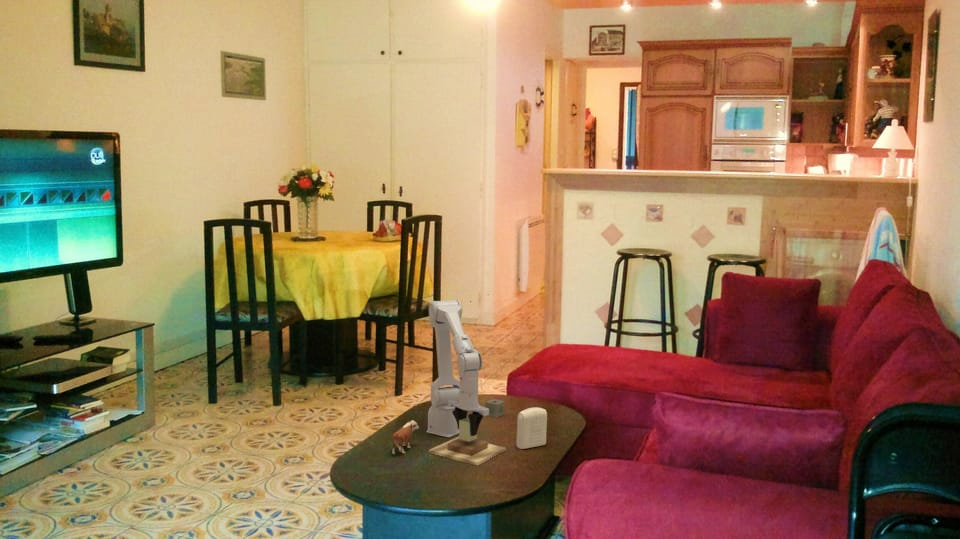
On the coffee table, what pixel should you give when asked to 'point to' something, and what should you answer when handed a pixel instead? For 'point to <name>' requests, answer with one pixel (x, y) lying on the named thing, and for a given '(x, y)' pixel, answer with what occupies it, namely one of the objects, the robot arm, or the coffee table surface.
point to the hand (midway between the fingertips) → (467, 433)
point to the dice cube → (495, 407)
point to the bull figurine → (404, 436)
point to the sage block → (465, 430)
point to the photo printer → (531, 428)
